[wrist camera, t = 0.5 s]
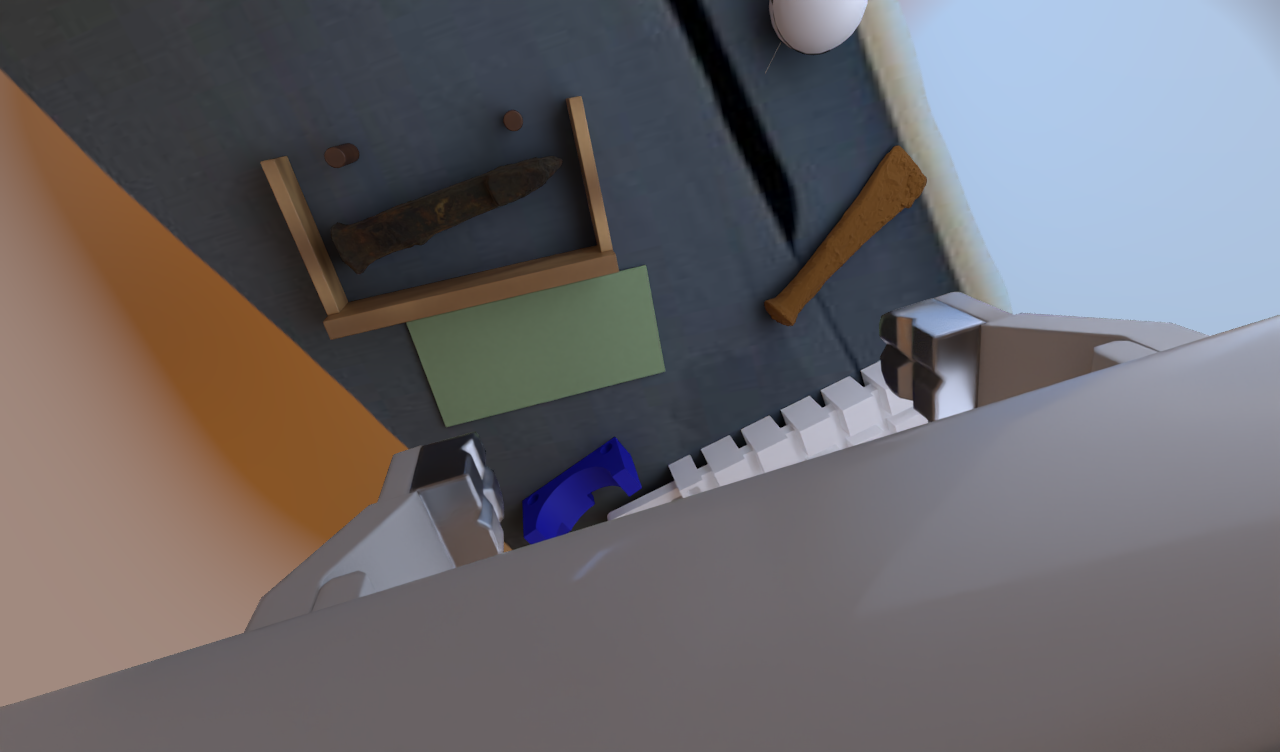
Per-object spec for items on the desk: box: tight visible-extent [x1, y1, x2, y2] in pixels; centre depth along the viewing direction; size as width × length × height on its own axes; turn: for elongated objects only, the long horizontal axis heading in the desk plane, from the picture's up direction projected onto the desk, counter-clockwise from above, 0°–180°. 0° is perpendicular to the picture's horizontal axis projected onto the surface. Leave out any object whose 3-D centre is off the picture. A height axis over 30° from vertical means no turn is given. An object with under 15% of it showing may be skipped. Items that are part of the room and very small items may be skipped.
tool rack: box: [260, 96, 619, 340], centre depth 48 cm, size 14×24×4 cm, turn 100°
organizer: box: [607, 361, 928, 521], centre depth 66 cm, size 13×5×35 cm
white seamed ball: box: [765, 0, 868, 74], centre depth 46 cm, size 10×7×7 cm
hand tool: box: [331, 156, 563, 274], centre depth 48 cm, size 19×4×5 cm, turn 107°
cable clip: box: [523, 437, 642, 544], centre depth 61 cm, size 12×4×6 cm, turn 123°
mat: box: [406, 265, 665, 427], centre depth 57 cm, size 11×22×1 cm, turn 100°
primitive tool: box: [764, 146, 927, 326], centre depth 57 cm, size 19×6×4 cm, turn 139°
